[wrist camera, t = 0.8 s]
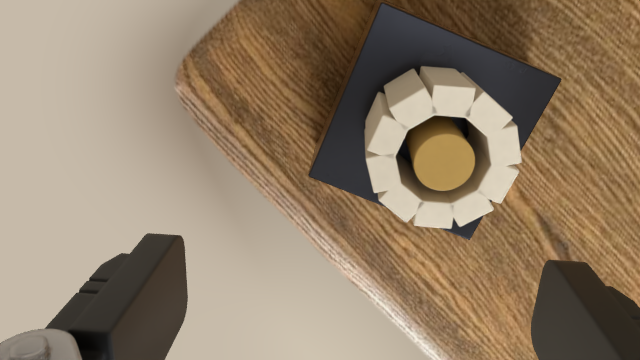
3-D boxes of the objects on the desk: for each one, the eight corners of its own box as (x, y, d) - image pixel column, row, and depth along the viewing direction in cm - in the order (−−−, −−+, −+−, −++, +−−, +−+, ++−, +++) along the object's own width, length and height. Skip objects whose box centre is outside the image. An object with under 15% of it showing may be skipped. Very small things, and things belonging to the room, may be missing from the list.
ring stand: (315, 146, 31) (298, 217, 22) (377, -3, 28) (386, 7, 19) (453, 202, 32) (491, 292, 23) (529, 62, 29) (609, 102, 20)
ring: (346, 163, 26) (344, 198, 22) (398, 45, 24) (407, 59, 20) (456, 206, 27) (474, 250, 23) (517, 95, 25) (550, 119, 20)
